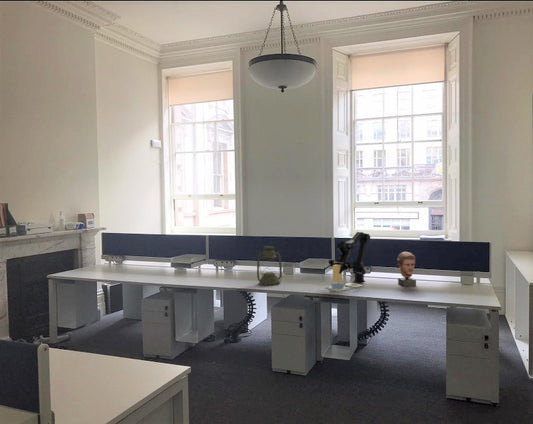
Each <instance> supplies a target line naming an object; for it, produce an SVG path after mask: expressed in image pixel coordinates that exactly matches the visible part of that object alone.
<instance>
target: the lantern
mask: <svg viewBox="0 0 533 424" xmlns="http://www.w3.org/2000/svg"><path fill="white" fill-rule="evenodd" d="M274 248H275V246H273V245H265V246H263V248H262V249H263V251H262V252H261V253H259V255H258V256H257V257H256V258H257V260H256V261H257V262H256V263H257V265H256V276H257V277H256V278H257V281H259V282H258V284H259V285H260V286H263V287H264V286H265V287H270V286H271V287H273V286H274V285H275V286H279V285H280V284H281V282H282V278H283V274H282V271H283V266H282V258H281V254H280V253H279V252H277V251H275V249H274ZM277 256H278V265H279V276H277V275H276V272H273V271H274V270H272V269H271V271H269V272H268V271H267V272H264V271H265V270H266V269H269V268H271V266H268V267H265V265H263V262H264V260H265V261H275V258H277ZM260 258H263V260H262V262H261V264H262V265H263V267H264V269H263V271H262V270H261V266H260ZM276 263H277V262H275V264H274V265H276ZM260 276H261V278H260Z"/></svg>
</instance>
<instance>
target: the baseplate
mask: <svg viewBox="0 0 533 424" xmlns="http://www.w3.org/2000/svg"><path fill="white" fill-rule="evenodd" d="M325 289H327V290H331V291H333V292H344V291H349V290H351V288H350V287H349V286H344V288H339V289H337V288H332V285H327V286H325Z"/></svg>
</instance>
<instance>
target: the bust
mask: <svg viewBox="0 0 533 424" xmlns="http://www.w3.org/2000/svg"><path fill="white" fill-rule="evenodd" d="M396 262H397V266H398V269H400V275H401V276H402V277H398V278H397V284H398V285H400V286H402V287H416V286H417V280H416V278H412V277H413V272H414V269H415V266H416V256H415V255H414V254H413V253H412V252H409V251H401V252H400V253H399V254H398V255H397V258H396Z"/></svg>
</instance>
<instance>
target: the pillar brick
mask: <svg viewBox="0 0 533 424" xmlns="http://www.w3.org/2000/svg"><path fill="white" fill-rule="evenodd" d="M341 266H342V265H338V264H336V265H333V267H332V283H342V282H343V272H342V273H341V274H339V272H340V269H341Z"/></svg>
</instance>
